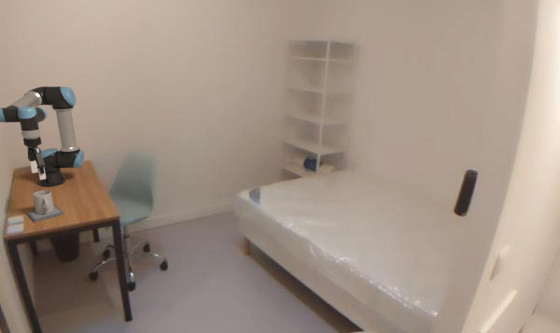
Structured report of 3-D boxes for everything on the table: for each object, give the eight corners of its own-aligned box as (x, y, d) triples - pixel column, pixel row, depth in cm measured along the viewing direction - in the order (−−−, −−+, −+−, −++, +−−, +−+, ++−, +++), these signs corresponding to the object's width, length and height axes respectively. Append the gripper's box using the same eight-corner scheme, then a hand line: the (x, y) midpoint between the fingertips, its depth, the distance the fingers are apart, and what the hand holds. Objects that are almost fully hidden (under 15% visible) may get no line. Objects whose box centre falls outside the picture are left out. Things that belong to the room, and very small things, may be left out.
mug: (34, 210, 193) (30, 192, 190) (51, 206, 199) (48, 188, 196) (40, 218, 186) (36, 199, 182) (58, 213, 192) (55, 195, 188)
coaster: (27, 214, 192) (27, 212, 191) (55, 206, 202) (55, 204, 202) (34, 222, 184) (34, 220, 183) (63, 214, 194) (63, 212, 194)
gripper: (16, 133, 184) (23, 171, 191) (30, 143, 169) (38, 183, 176) (32, 131, 190) (39, 168, 197) (48, 141, 174) (54, 180, 181)
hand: (39, 175), depth 186 cm, fingers open, 13 cm apart
